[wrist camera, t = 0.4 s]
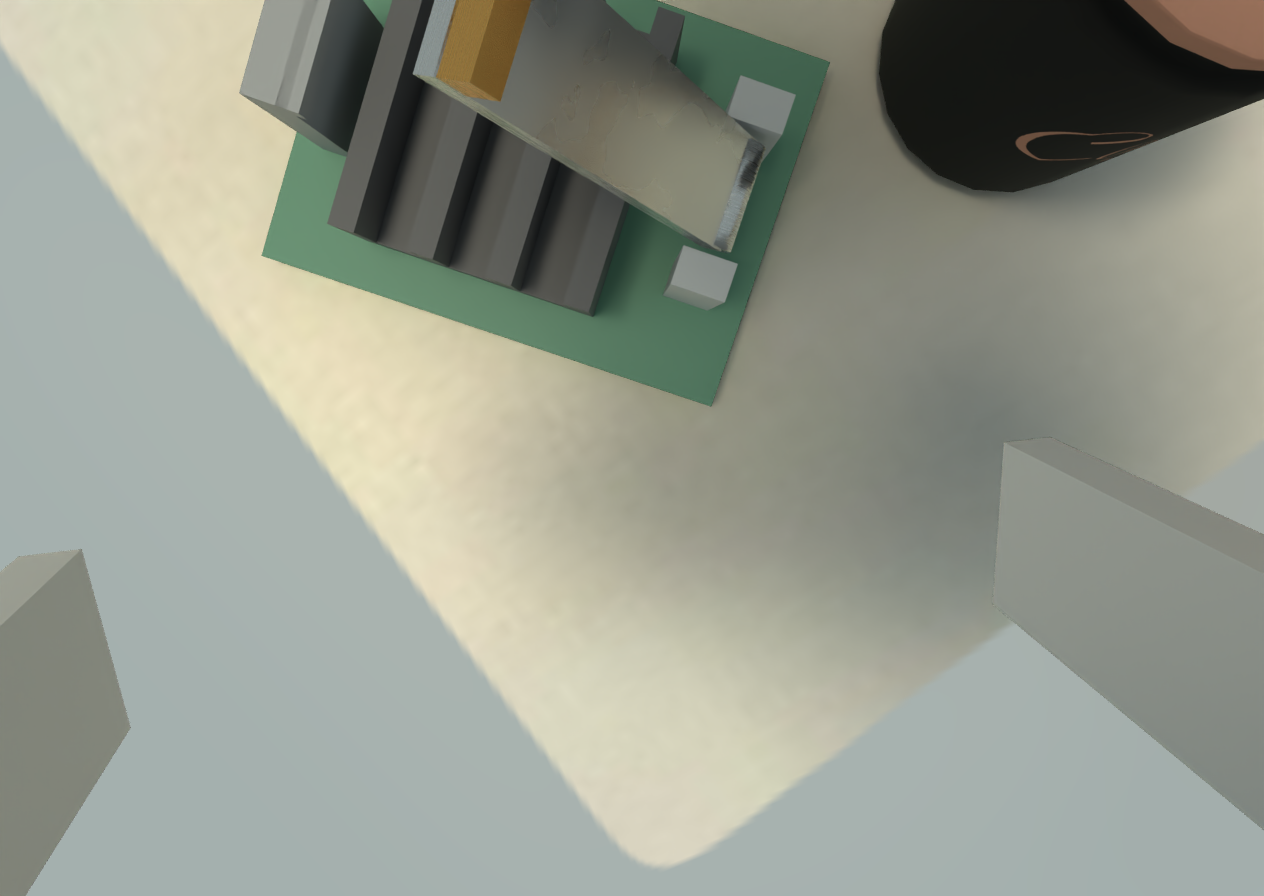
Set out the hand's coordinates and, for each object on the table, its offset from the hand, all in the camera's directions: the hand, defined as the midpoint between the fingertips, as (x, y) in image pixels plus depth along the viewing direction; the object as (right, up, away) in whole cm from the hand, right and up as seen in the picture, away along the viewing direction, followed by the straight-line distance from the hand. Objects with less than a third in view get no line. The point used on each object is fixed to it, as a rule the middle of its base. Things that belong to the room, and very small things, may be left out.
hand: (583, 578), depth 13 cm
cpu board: (-3, +14, +25) cm, 29 cm away
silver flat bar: (0, +12, +13) cm, 18 cm away
